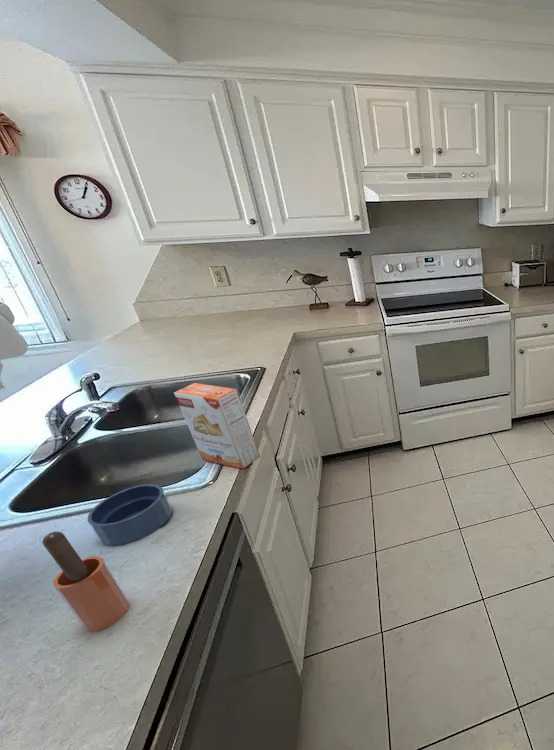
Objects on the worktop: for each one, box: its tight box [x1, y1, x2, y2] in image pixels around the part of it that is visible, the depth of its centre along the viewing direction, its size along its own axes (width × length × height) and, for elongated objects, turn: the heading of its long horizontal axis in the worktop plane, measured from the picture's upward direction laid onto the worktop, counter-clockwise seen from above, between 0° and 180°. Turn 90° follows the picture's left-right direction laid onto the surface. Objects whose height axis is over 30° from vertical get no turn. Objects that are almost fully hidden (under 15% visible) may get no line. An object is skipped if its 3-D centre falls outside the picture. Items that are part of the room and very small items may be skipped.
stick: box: [42, 531, 91, 584], centre depth 64 cm, size 2×2×20 cm
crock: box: [53, 555, 131, 633], centre depth 67 cm, size 6×6×11 cm
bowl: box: [87, 483, 173, 547], centre depth 87 cm, size 12×12×6 cm
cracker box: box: [173, 382, 261, 470], centre depth 104 cm, size 14×6×21 cm, turn 73°
